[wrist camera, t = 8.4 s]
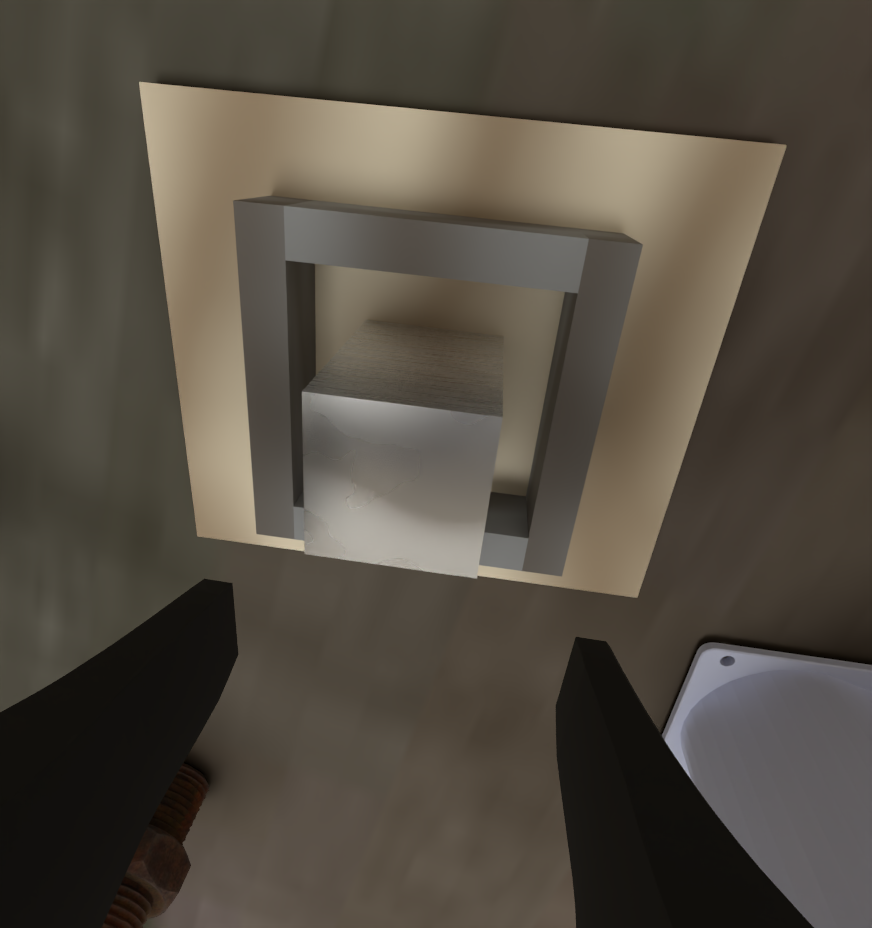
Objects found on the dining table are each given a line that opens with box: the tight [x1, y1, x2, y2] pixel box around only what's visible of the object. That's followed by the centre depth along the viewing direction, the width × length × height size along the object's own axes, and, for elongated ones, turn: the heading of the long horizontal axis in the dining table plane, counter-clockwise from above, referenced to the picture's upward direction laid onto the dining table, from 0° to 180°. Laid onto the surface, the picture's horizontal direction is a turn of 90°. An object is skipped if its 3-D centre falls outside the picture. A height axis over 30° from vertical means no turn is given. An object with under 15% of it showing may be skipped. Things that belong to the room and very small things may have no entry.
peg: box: [302, 320, 504, 579], centre depth 15 cm, size 4×4×6 cm
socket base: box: [139, 82, 787, 598], centre depth 17 cm, size 16×14×3 cm
